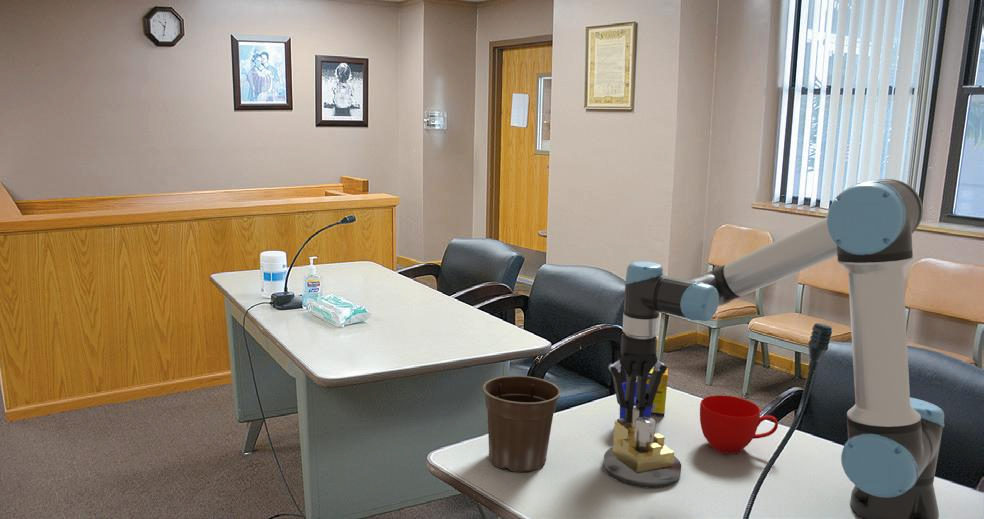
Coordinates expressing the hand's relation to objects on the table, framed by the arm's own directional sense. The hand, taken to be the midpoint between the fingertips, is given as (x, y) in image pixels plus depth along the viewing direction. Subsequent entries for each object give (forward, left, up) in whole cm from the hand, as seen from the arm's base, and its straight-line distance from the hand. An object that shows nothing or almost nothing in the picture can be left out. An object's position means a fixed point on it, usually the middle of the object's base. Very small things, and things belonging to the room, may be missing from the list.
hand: (632, 436), depth 172 cm
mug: (+5, -11, -4) cm, 12 cm away
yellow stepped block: (-4, +5, -1) cm, 7 cm away
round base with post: (-6, +6, -4) cm, 10 cm away
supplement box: (+7, -25, -4) cm, 26 cm away
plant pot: (+16, +20, -4) cm, 26 cm away
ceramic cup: (-17, -18, -4) cm, 25 cm away
